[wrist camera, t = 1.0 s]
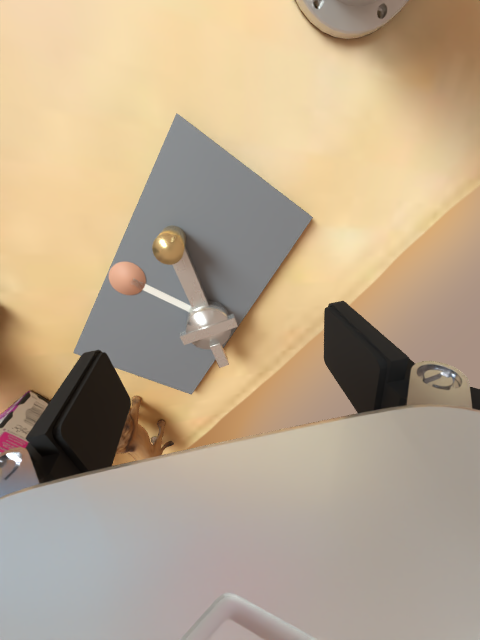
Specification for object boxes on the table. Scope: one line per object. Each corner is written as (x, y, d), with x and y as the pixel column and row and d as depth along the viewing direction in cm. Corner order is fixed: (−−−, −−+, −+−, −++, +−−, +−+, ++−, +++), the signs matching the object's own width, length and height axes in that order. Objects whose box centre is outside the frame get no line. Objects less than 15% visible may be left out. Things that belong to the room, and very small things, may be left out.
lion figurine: (91, 397, 36) (61, 456, 28) (120, 379, 36) (97, 434, 28) (161, 447, 43) (153, 506, 35) (187, 432, 42) (184, 489, 34)
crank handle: (245, 343, 34) (252, 367, 29) (199, 358, 34) (199, 385, 29) (197, 215, 26) (197, 221, 21) (138, 236, 26) (125, 247, 21)
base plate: (177, 116, 23) (176, 112, 22) (308, 216, 29) (313, 217, 28) (77, 347, 32) (72, 353, 31) (191, 388, 38) (191, 394, 37)
